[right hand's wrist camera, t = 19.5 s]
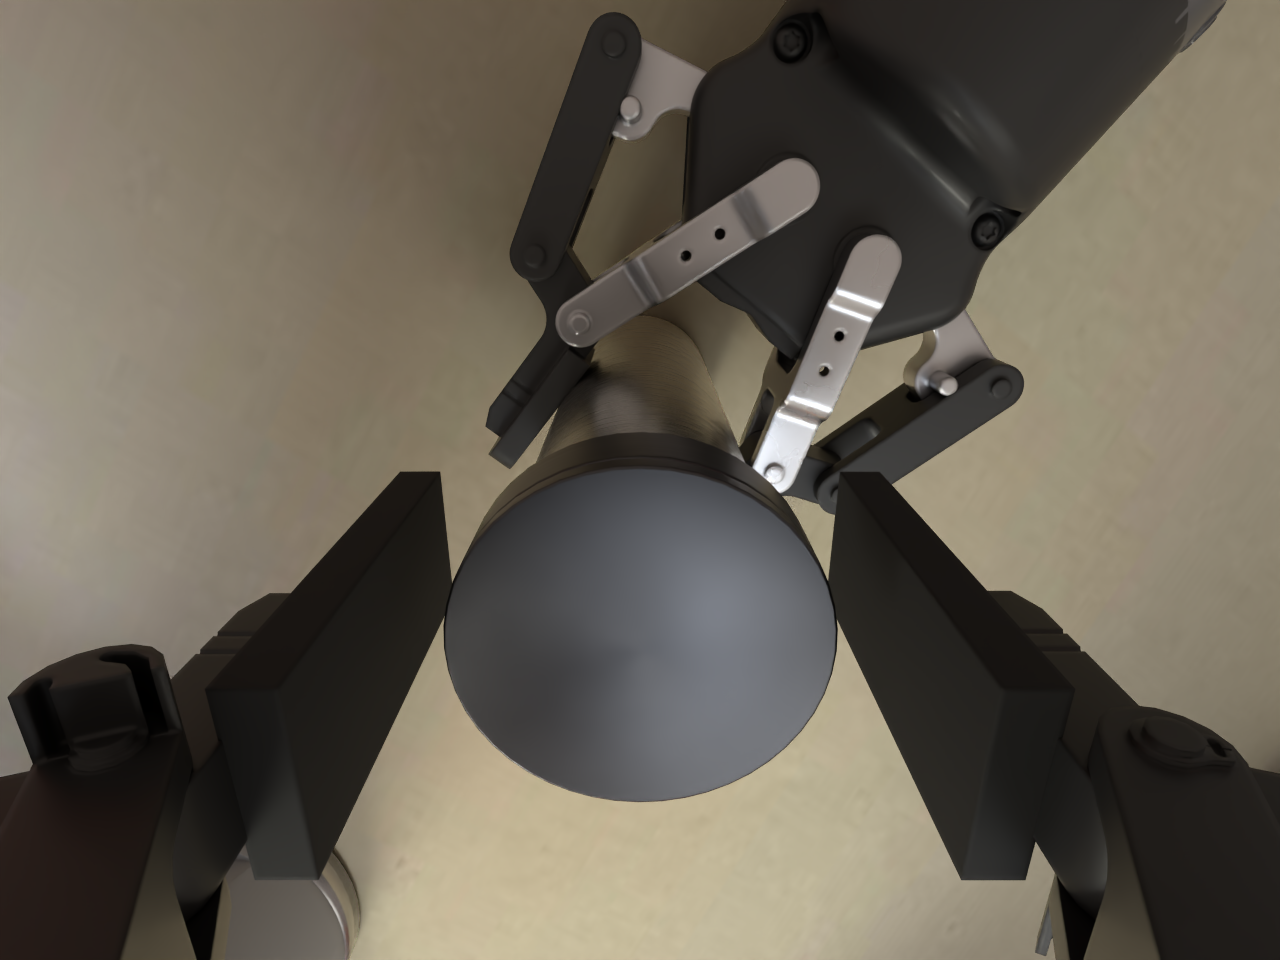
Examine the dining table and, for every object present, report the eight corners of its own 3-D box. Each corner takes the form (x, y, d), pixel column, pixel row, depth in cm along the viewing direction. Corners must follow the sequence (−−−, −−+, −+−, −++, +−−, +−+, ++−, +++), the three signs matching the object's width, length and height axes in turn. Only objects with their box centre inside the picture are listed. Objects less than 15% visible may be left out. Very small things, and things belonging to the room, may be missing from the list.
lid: (571, 361, 10) (560, 387, 9) (884, 540, 11) (920, 589, 10) (411, 647, 12) (379, 708, 11) (694, 780, 13) (702, 853, 12)
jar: (654, 468, 27) (672, 795, 12) (549, 396, 26) (425, 656, 11) (732, 366, 26) (863, 594, 11) (624, 287, 25) (598, 414, 10)
